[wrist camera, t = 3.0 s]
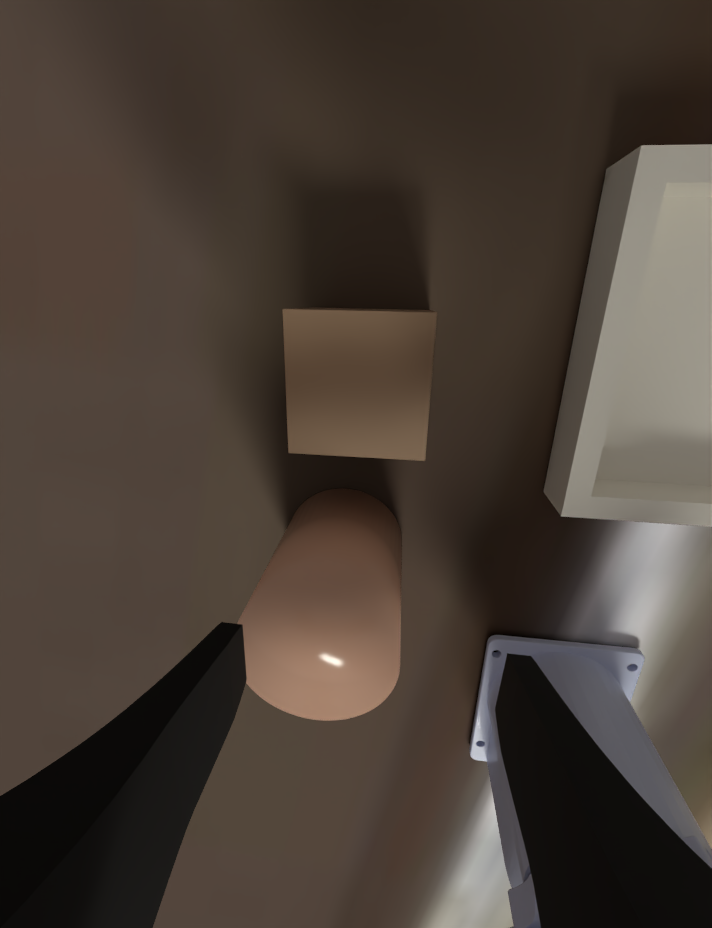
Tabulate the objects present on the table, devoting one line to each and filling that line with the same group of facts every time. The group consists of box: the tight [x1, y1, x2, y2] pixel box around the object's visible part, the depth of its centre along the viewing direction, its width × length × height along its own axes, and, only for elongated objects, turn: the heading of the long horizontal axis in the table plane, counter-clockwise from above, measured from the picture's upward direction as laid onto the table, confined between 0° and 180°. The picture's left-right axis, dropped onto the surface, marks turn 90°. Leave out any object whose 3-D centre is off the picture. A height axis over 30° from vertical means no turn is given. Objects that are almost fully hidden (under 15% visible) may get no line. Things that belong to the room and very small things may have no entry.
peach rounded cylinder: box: [237, 488, 402, 721], centre depth 19 cm, size 6×6×8 cm
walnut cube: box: [283, 308, 437, 461], centre depth 17 cm, size 5×5×5 cm
